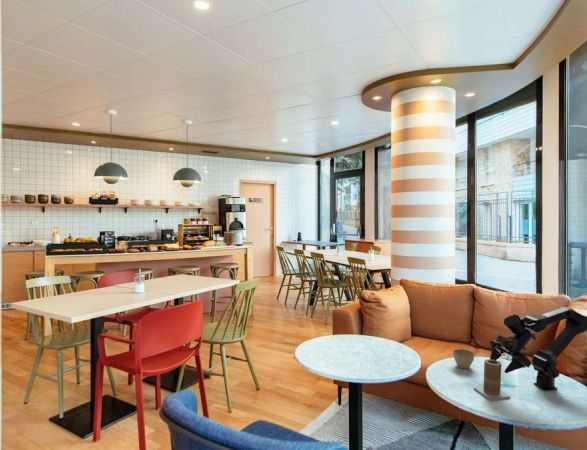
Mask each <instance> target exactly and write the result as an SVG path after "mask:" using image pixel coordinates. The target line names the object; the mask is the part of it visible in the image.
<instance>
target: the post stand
mask: <svg viewBox="0 0 587 450" xmlns="http://www.w3.org/2000/svg"><path fill="white" fill-rule="evenodd" d="M483 387H484V385H482V386H475V387H473V390H474V391H476V392H477V393H479V394H480V395H481V396H482V397H483V398H485V399H486V400H488V401H498V400H505V399H506V400H507V399H511V395H509V394H507V393H506V392H505V391H503V390H502V389H500V394H499V395H490V394H488V393H485V391H484V390H483Z"/></svg>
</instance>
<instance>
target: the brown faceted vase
mask: <svg viewBox="0 0 587 450" xmlns="http://www.w3.org/2000/svg"><path fill="white" fill-rule="evenodd" d="M483 363H484V364H483V367H484V368H483V386H484V387H483V390H484V391H485V393H488V394H490V395H499V394H500V390H501V385H502V382H501V381H502V362H501V361H500V360H492V359H490V358H487V359H485V360H484V362H483Z"/></svg>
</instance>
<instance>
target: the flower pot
mask: <svg viewBox="0 0 587 450" xmlns="http://www.w3.org/2000/svg"><path fill="white" fill-rule="evenodd" d="M452 355H453V358H454V362H455V364H456V365H457V367H458V368H461V369H465V370H466V369H469V368H470V366H471V365H472V364H473V362H474V359H475V356H476V354H475V353H474V352H473V351H472V350H469V349H464V348H455V349H453V351H452Z"/></svg>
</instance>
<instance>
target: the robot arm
mask: <svg viewBox="0 0 587 450" xmlns="http://www.w3.org/2000/svg"><path fill="white" fill-rule="evenodd" d="M564 320H565V326H564V328H563V329H562V330H561V332H560V333H559V334H558V335H557V336H556V337H555V339H554V340H552V342H551V343H550V344H549V345H548V347H547V348H546V349H545V350H541V349H538V350H537V351H536V353H535V354H533V355H532V356H533V357H532V359H531V360H530V359H529V358H528V356H527V355H526V354H524V353H522V351H523V350H524V351H526V350H527V347H526V346H527V345H528V343H529V342H530V341H531V340H533V341H536V340H537V337H536V333H541V332H542V331H544V330H546V329H547V327H548V326H549V325H552V324H555V323H558V322H561V321H564ZM503 324H504V326H505V328H507V329H508V331H510V332H511V334H513V336H508V337H505V336H503V335H501V334H498V335H497V337H496V340H495V339H492V340H490V342H489V343H488V344H489V347H490V349H491V352H490V356H489V359H492V360H496V361H498V359H500V358H501V357H502V356H503V354H506V355H508V356H511V361H510V363H508V364H507V366H506V368H505V369H504V371H503V372H504V373H505V374H509V373H511V372H514V371H515V370H519V369H525V368H530V367H531V366H533V370H534V371H536V372H537V373H536V381H535V382H534V383H533V385H535V386H536V387H538V388H540V389H542V390H544V391H551V390H552V391H553V390H558V387H557V386H555V381H556V380H555V379H557V378H558V377H560V374H561V372H560V370H558V368H557V365H558V358H559V357H560V355H561V354H562V353H563V351H564V350H565V349H566V348H567V347H568V345H570V344H571V342H572V341H573V340H574V338H575V337H576V336H577V335H580V334H583V333H585V332H587V316H586V315H584V314H581V313H580V312H577V311H576V310H574V309H573V308H570V307H567V306H561V307H560V308H558V309H557V308H556V309H554V310H551V311H548V312H545V313H542V314H531V315H530V314H528V315H525V316H524V317H523V318H521V317H520V316H519V315H518V314H516V313H513V314H512V315H509V316H507V317H505V318H504V320H503ZM534 332H535V333H534Z"/></svg>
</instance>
